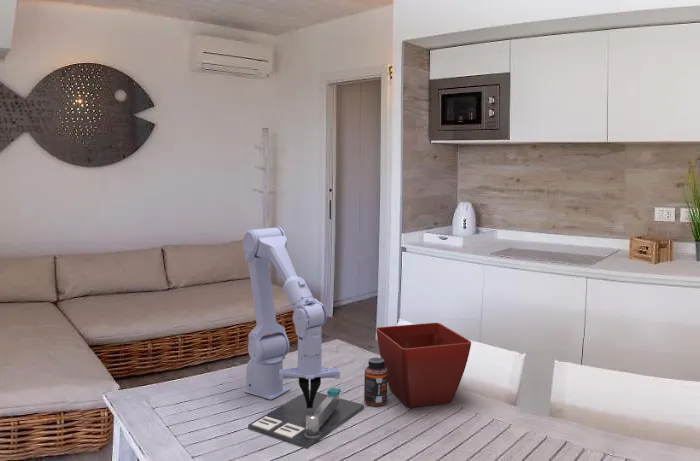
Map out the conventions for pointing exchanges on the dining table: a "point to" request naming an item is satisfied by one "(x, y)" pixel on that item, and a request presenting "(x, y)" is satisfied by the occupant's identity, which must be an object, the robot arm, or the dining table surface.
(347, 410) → the tray
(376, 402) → the supplement bottle
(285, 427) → the label
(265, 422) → the label
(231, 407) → the dining table surface
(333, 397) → the bar
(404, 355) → the plant pot
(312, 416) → the grey rounded cylinder
